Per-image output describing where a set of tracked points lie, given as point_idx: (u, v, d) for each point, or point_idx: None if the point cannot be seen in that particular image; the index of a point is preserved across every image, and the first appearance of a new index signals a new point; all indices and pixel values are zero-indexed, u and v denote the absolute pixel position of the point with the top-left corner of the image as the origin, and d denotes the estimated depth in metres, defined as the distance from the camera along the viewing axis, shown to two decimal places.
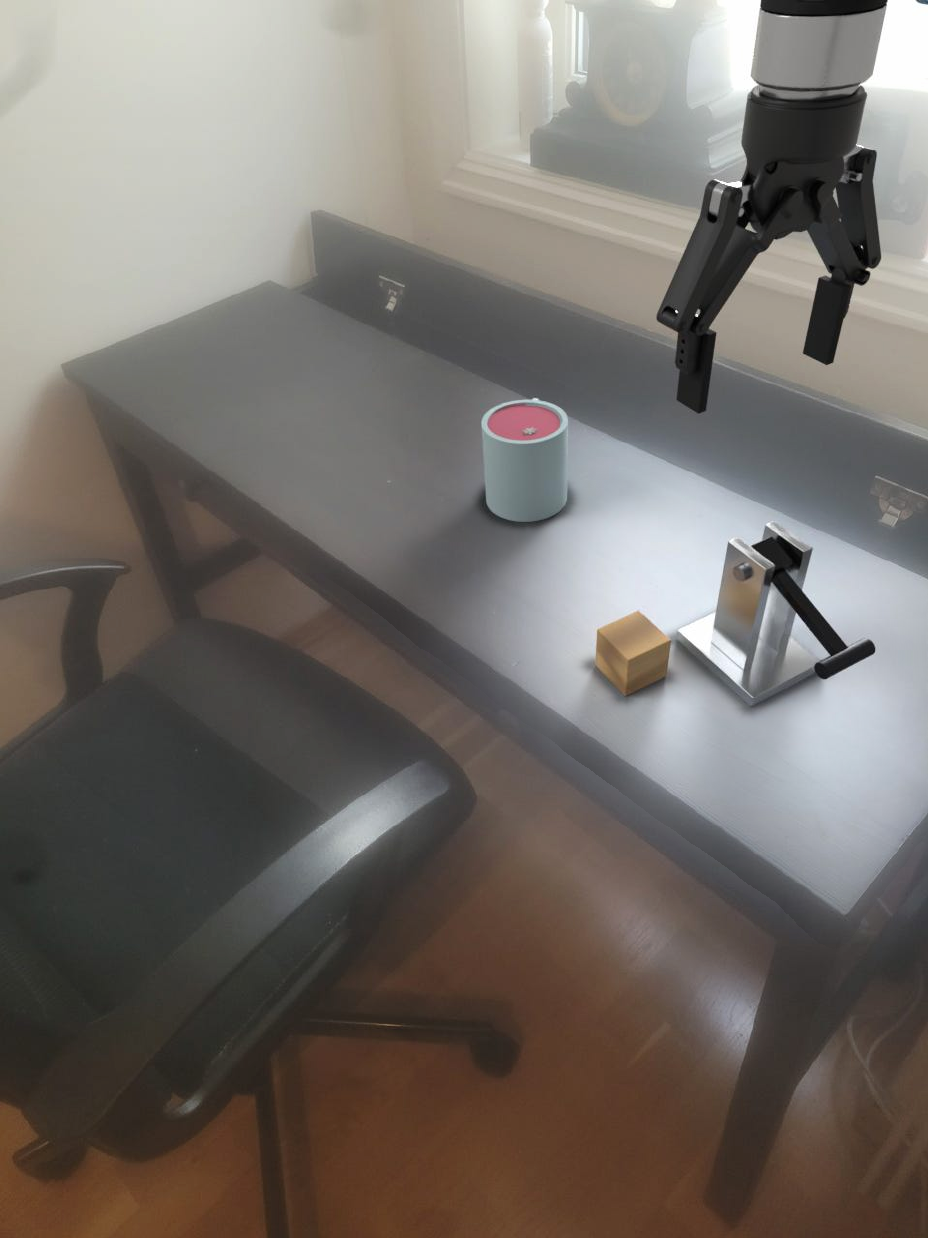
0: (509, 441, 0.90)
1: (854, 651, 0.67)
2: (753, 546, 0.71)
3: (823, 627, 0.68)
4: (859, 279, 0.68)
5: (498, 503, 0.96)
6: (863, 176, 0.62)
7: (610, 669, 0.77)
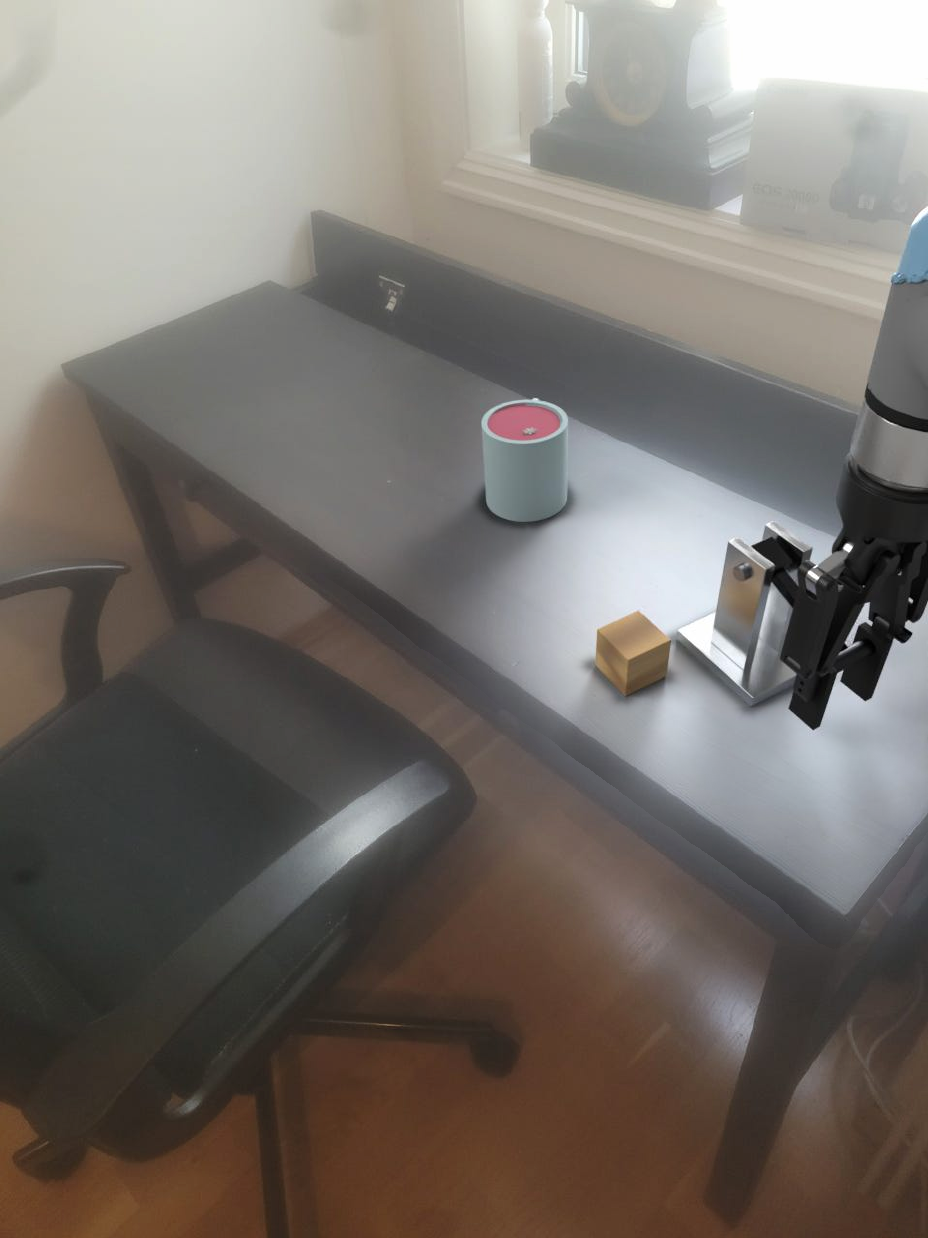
0: (509, 441, 0.90)
1: (854, 651, 0.67)
2: (753, 546, 0.71)
3: None
4: (901, 637, 0.66)
5: (498, 503, 0.96)
6: None
7: (610, 669, 0.77)
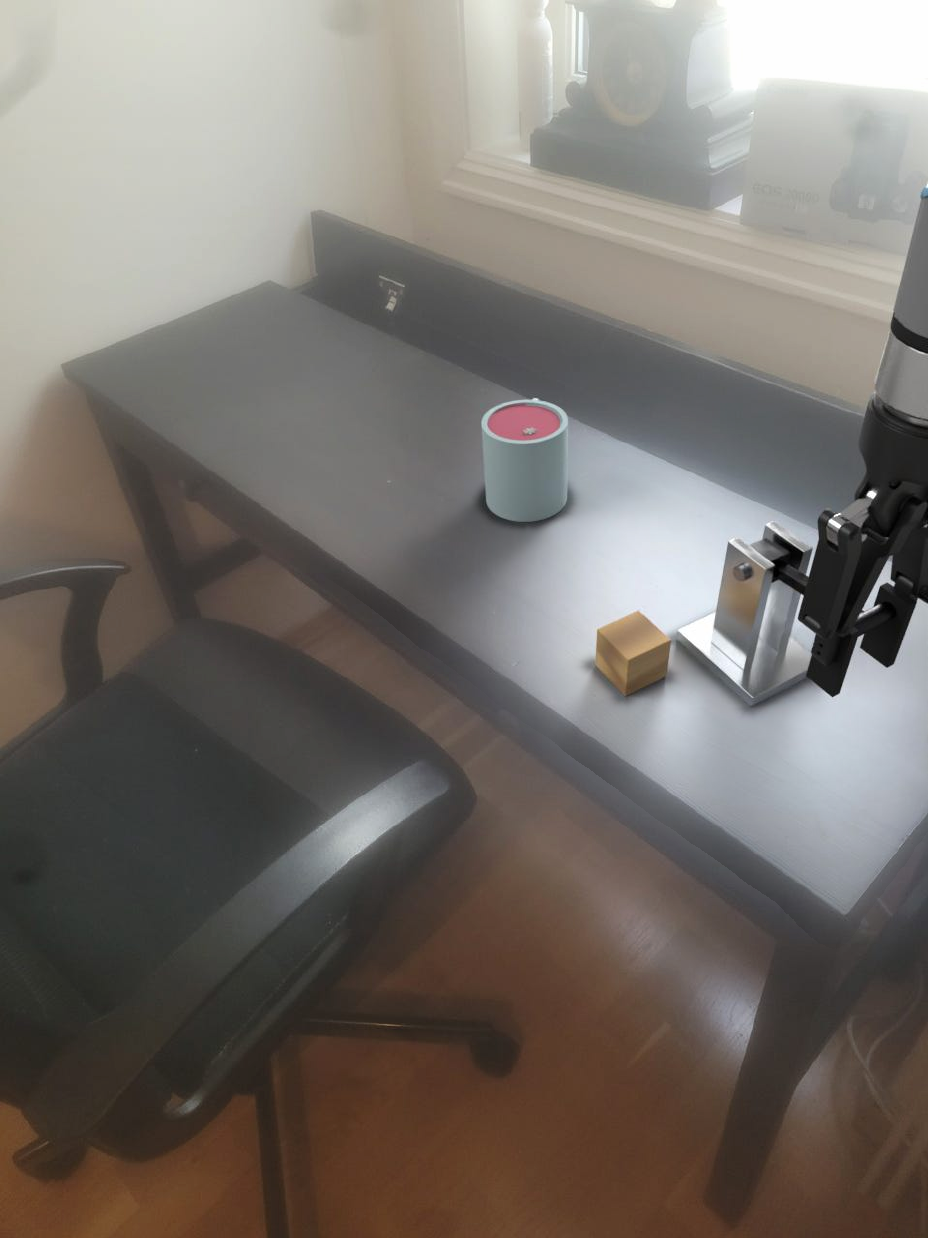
0: (509, 441, 0.90)
1: (871, 612, 0.64)
2: None
3: None
4: (926, 596, 0.63)
5: (498, 503, 0.96)
6: None
7: (610, 669, 0.77)
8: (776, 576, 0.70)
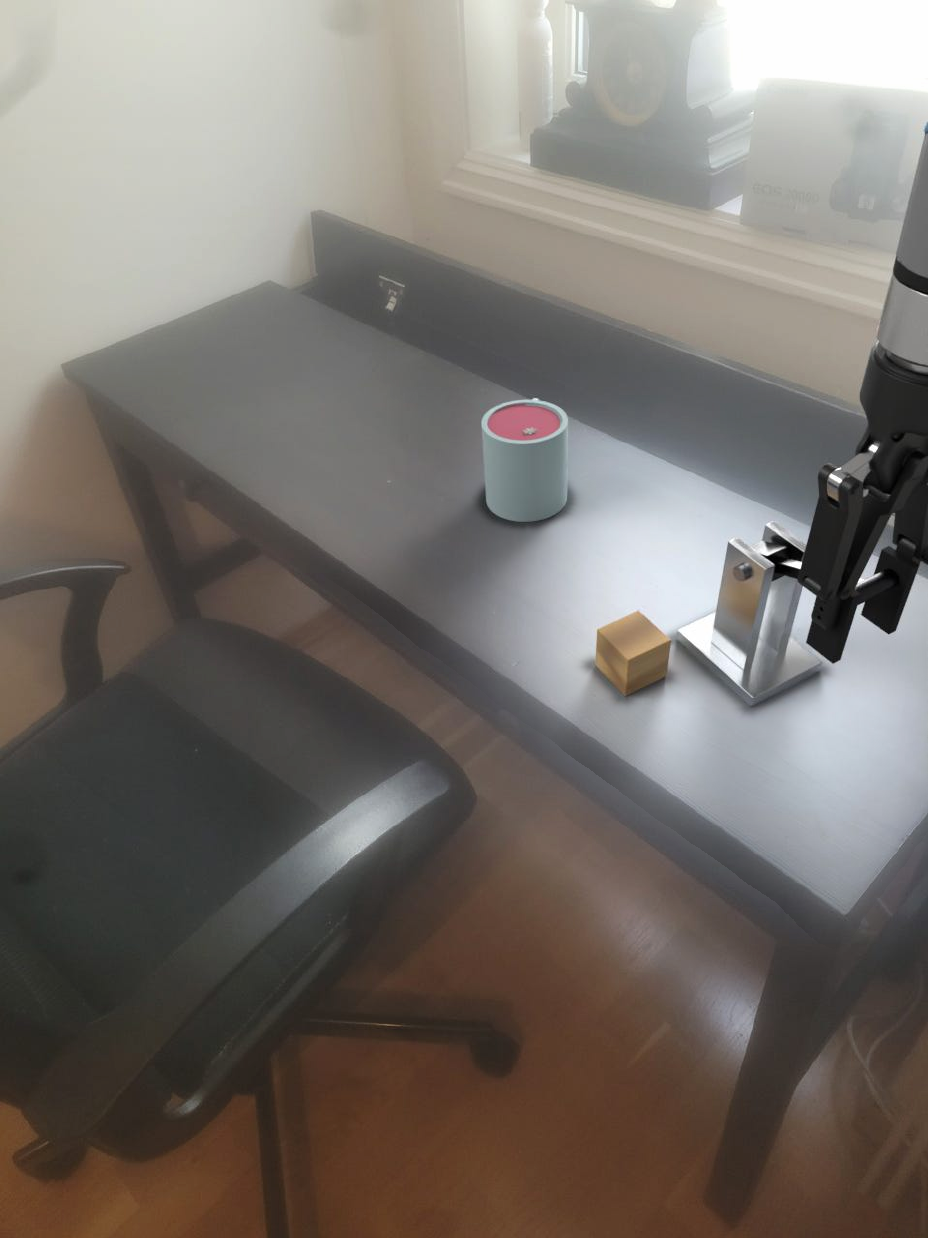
0: (509, 441, 0.90)
1: (871, 578, 0.63)
2: None
3: None
4: None
5: (498, 503, 0.96)
6: None
7: (610, 669, 0.77)
8: (777, 571, 0.70)
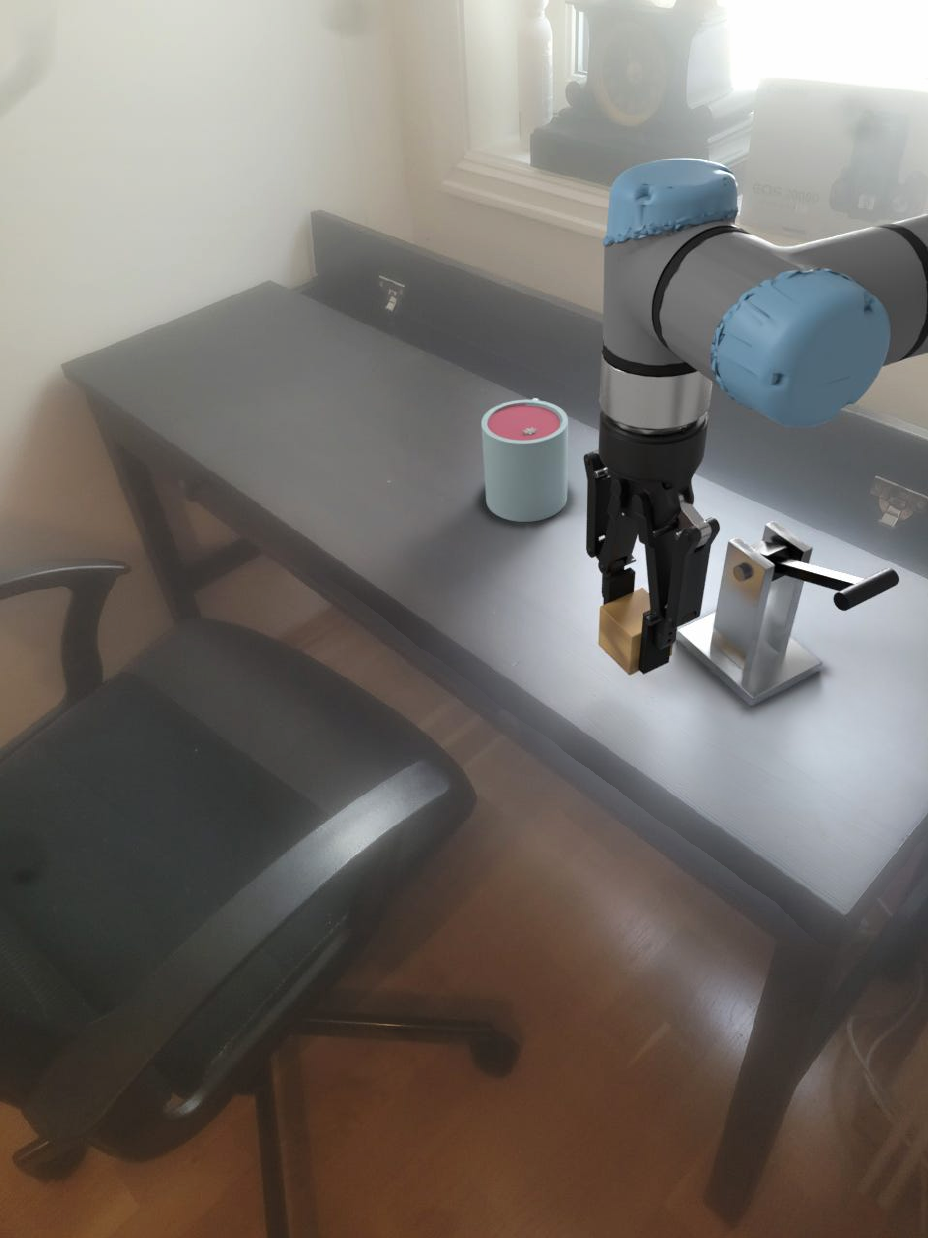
0: (509, 441, 0.90)
1: (871, 577, 0.63)
2: None
3: (833, 575, 0.65)
4: (648, 616, 0.68)
5: (498, 503, 0.96)
6: (679, 540, 0.62)
7: (613, 648, 0.75)
8: (777, 571, 0.70)
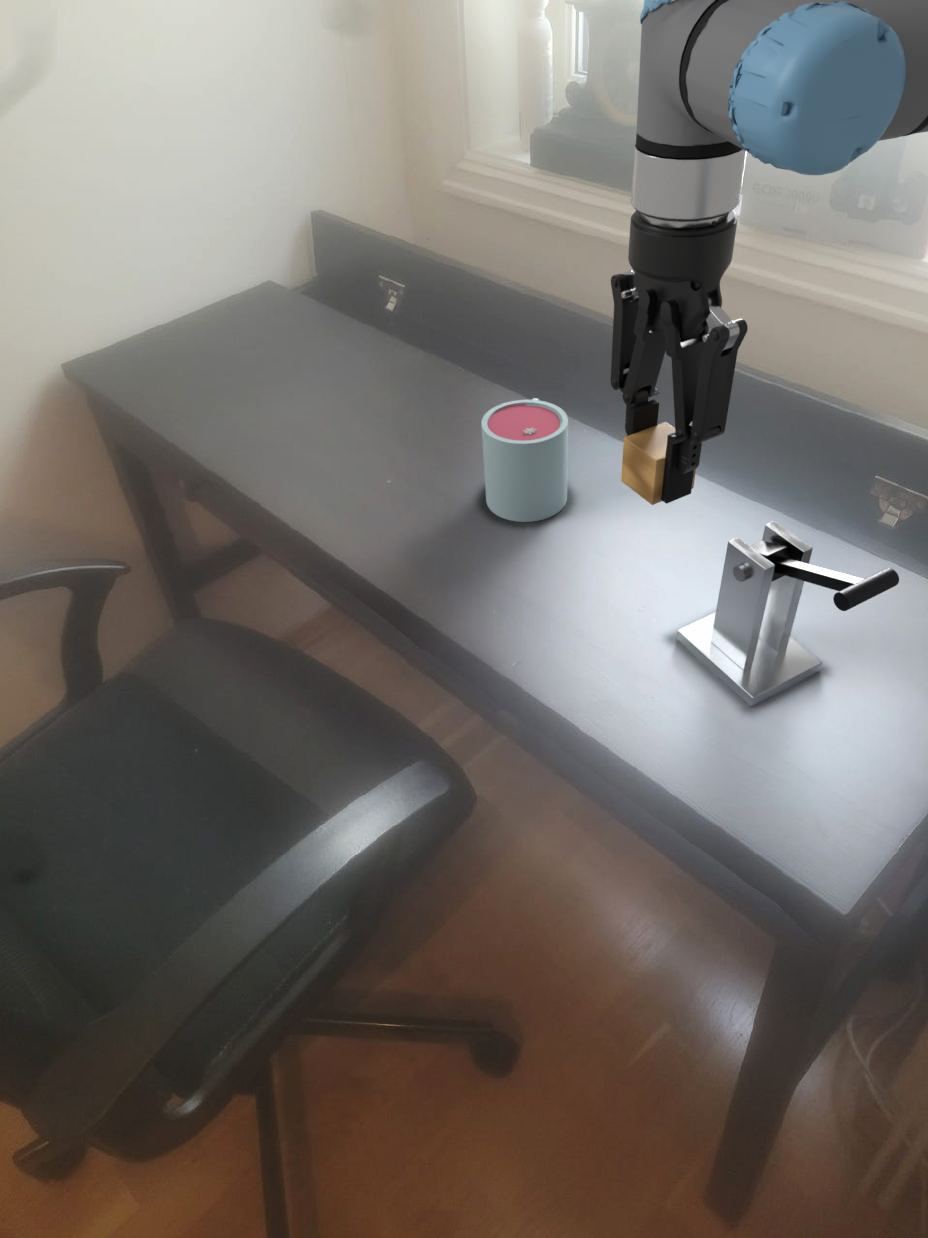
0: (509, 441, 0.90)
1: (871, 577, 0.63)
2: None
3: (833, 575, 0.65)
4: (673, 435, 0.70)
5: (498, 503, 0.96)
6: (707, 342, 0.63)
7: (637, 479, 0.76)
8: (777, 571, 0.70)
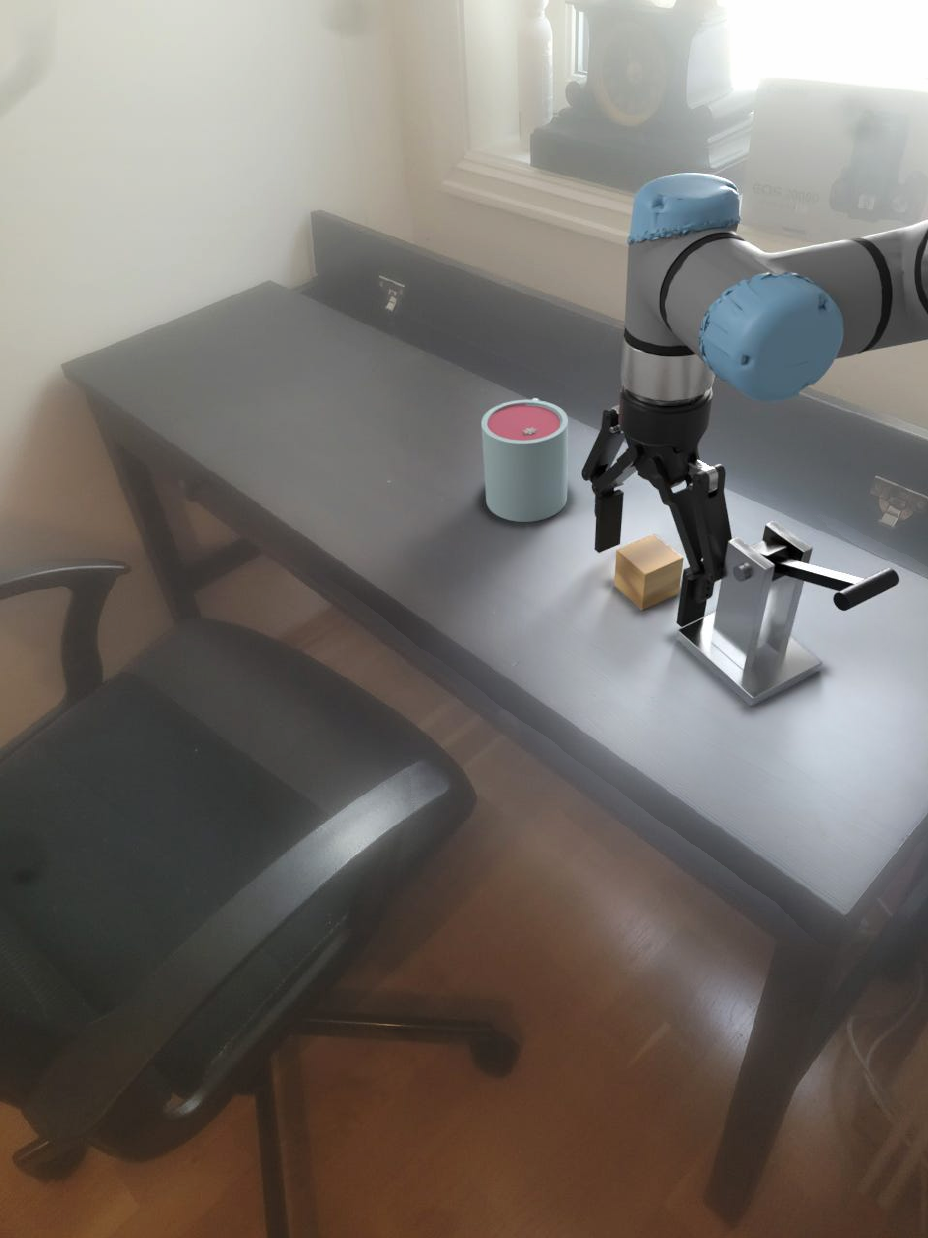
0: (509, 441, 0.90)
1: (871, 577, 0.63)
2: None
3: (833, 575, 0.65)
4: (689, 573, 0.75)
5: (498, 503, 0.96)
6: (693, 489, 0.71)
7: (628, 586, 0.85)
8: (777, 571, 0.70)
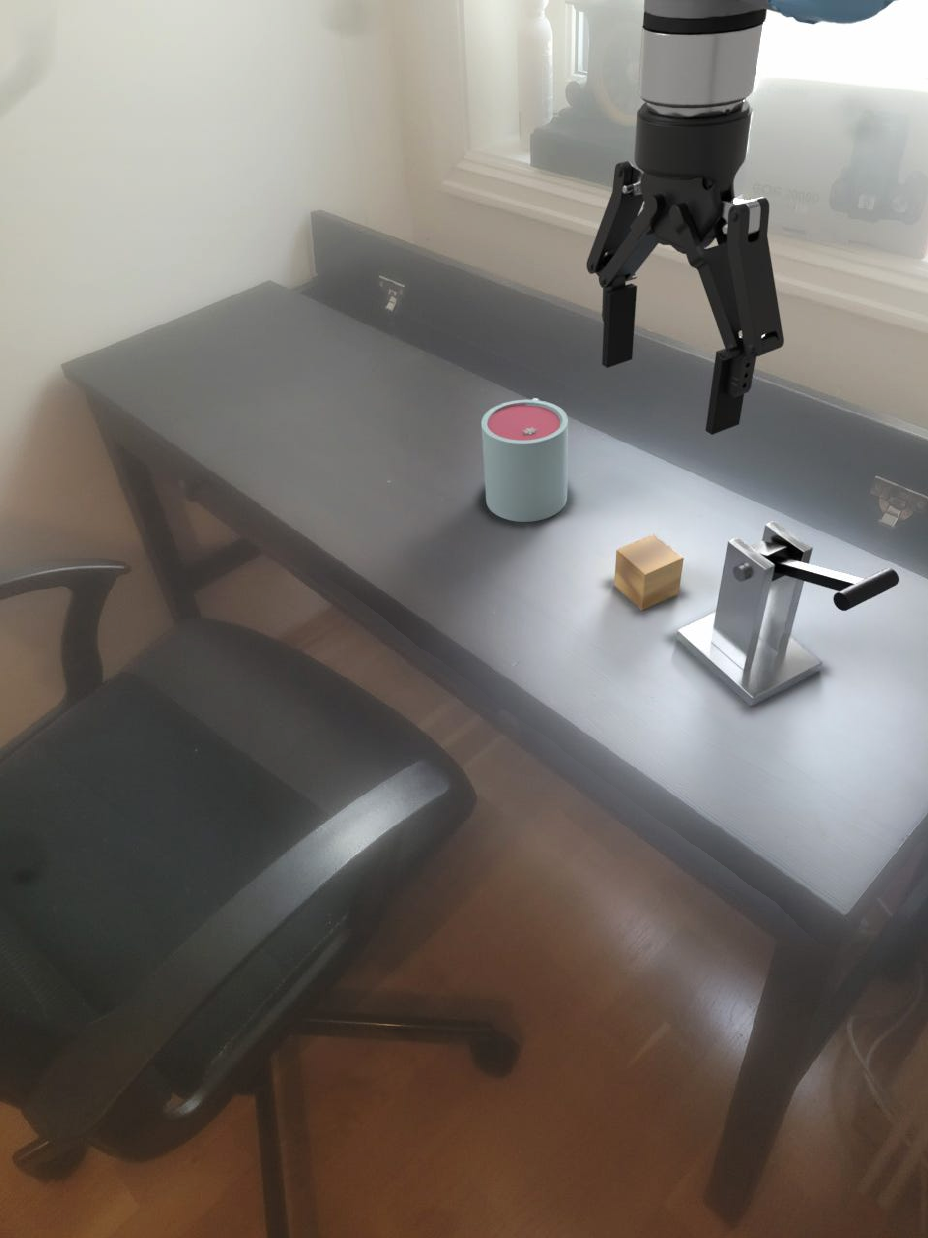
0: (509, 441, 0.90)
1: (871, 577, 0.63)
2: None
3: (833, 575, 0.65)
4: (724, 351, 0.61)
5: (498, 503, 0.96)
6: (728, 231, 0.57)
7: (628, 586, 0.85)
8: (777, 571, 0.70)
